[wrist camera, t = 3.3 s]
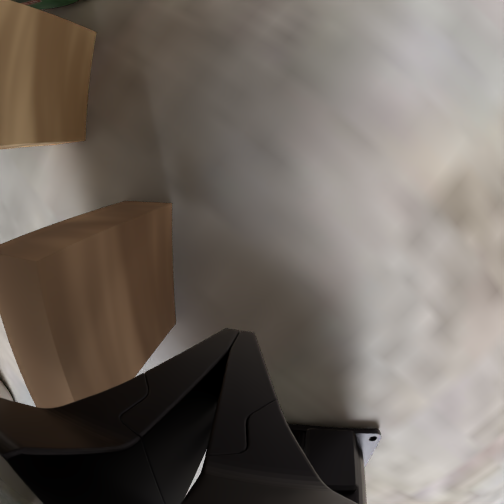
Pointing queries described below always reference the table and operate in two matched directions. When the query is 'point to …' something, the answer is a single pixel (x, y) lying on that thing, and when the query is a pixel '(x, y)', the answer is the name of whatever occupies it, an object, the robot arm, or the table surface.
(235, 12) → the table surface
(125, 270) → the brown wooden block
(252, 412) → the robot arm
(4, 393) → the dark rounded piece
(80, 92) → the tan wooden block
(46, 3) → the coffee jar
